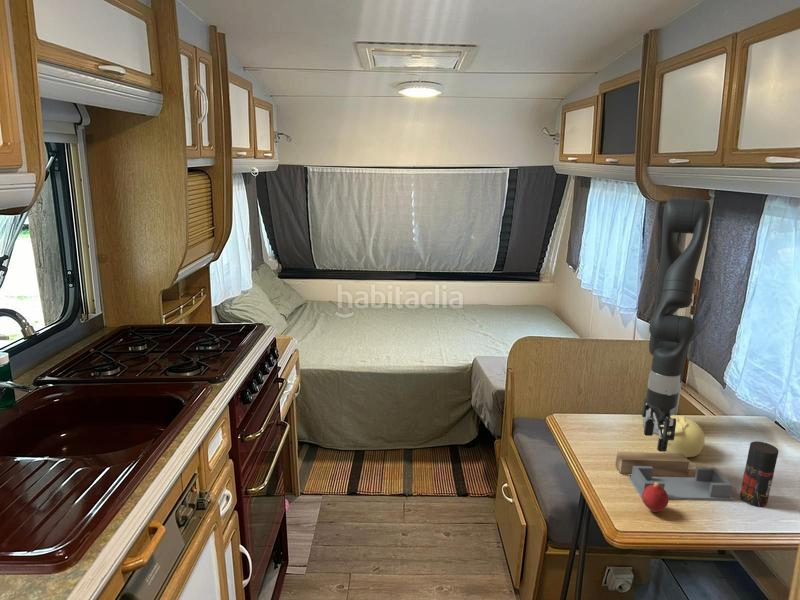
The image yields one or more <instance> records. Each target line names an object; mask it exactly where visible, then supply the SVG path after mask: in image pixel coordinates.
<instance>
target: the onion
mask: <svg viewBox="0 0 800 600" xmlns="http://www.w3.org/2000/svg"><path fill="white" fill-rule="evenodd" d="M641 501H642V502H643V504H644V505H645V506H646V507H647V508H648V510H649V511H650V512H651V513H655V512H656V513H658V512H661V511H663V510H665V509H666V507H667V506H668V504H669V499H668V495H667V493H666V491H665V490H664V489H663V488H662V487H661V486H660V485H659V484H658V483H657V482H654V484H653V485H649V486H647V487H646V488H645V489H644V491H643V493H642V498H641Z"/></svg>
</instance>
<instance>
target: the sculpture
mask: <svg viewBox="0 0 800 600" xmlns="http://www.w3.org/2000/svg"><path fill="white" fill-rule="evenodd" d="M670 417H671V418H675V419H676V428H675V436H674V440H668V445H667V450H666V451H665V452H667V453H676V454H684V456H685V457H686V458H693V457H696V456H698V455H700V453H701V452H702V451H703V449H704V446H705V441H706V440H705V439H706V438H705V434H704V433H705V432H704V431H703V429H702V427H701V426H700V425H699V424H697V423H696V422H695V421H694V420H691V419H689V418H687V417H686V416H685V415H678V414H677V415H672V416H670ZM661 426H664V425H661ZM662 433H663V430H662ZM670 434H671V432H670Z"/></svg>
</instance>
